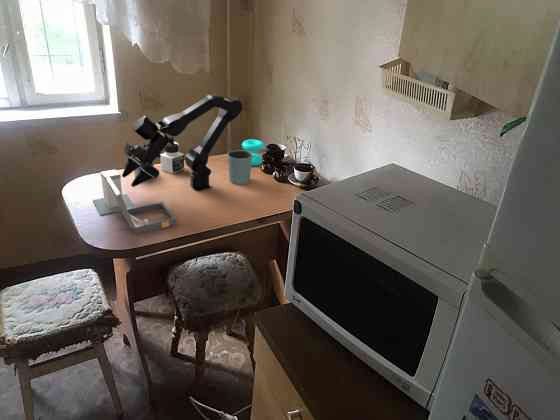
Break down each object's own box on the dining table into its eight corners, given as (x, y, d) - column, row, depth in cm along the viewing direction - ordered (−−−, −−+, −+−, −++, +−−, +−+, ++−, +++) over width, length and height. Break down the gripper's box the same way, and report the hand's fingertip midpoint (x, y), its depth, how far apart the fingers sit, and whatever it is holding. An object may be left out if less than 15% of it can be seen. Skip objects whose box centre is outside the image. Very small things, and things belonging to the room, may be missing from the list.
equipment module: (118, 199, 158) (115, 169, 153) (123, 205, 155) (120, 174, 149) (104, 202, 155) (100, 171, 150) (109, 208, 152) (104, 177, 146)
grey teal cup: (256, 180, 183) (257, 153, 177) (241, 188, 175) (242, 160, 170) (237, 174, 187) (237, 147, 182) (222, 181, 180) (222, 154, 174)
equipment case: (163, 207, 156) (160, 168, 149) (177, 225, 145) (175, 184, 138) (111, 217, 147) (105, 176, 140) (122, 238, 136) (116, 195, 129)
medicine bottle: (173, 174, 183) (171, 147, 177) (160, 169, 186) (159, 143, 180) (184, 169, 188) (183, 143, 183) (172, 165, 191) (171, 139, 186)
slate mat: (126, 195, 163) (126, 194, 162) (135, 208, 154) (135, 207, 154) (93, 201, 157) (92, 199, 157) (100, 215, 148) (100, 214, 148)
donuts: (240, 138, 199) (261, 138, 201) (239, 159, 203) (260, 158, 206) (244, 146, 190) (266, 145, 193) (244, 167, 195) (265, 166, 198)
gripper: (127, 127, 156) (100, 160, 155) (147, 142, 143) (118, 179, 142) (150, 144, 164) (125, 176, 163) (171, 160, 151) (143, 195, 150)
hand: (127, 181), depth 155 cm, fingers open, 9 cm apart
